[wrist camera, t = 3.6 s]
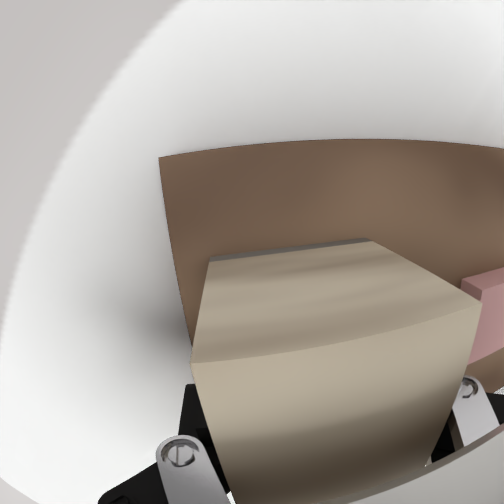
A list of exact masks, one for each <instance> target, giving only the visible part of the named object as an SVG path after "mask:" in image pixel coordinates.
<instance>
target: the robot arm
mask: <svg viewBox="0 0 504 504" xmlns="http://www.w3.org/2000/svg"><path fill="white" fill-rule="evenodd" d="M156 460H157V462H156V463H154V464H153V465H151V466H149V467H148V468H146V469H145V470H143V471H141V472H140V473H138V474H136V475H135V476H133V477H131V478H130V479H128V480H126V481H125V482H123V483H121V484H119V485H118V486H116V487H114V488H112V489H111V490H109V491H107V492H106V493H104V494H103V495H102V496H101V498H100V499H99V501H98V504H231V503H230V501H229V499H228V497H227V495H226V494H228V493H229V492H230V491H231V490H230V488H229V485H228V483H227V480H226V477H225V475H224V472H223V469H222V466H221V464H220V461H219V458H218V455H217V452H216V449H215V446H214V443H213V440H212V437H211V434H210V431H209V428H208V425H207V422H206V419H205V416H204V412H203V409H202V406H201V402H200V399H199V396H198V392H197V389H196V385H195V384H187V385H186V387H185V393H184V399H183V406H182V412H181V418H180V425H179V432H178V436H173V437H170V438H168V439H166V440H165V441H163V442H162V443H161V444H160V445H159V446H158V448H157V451H156ZM313 504H504V395H501V394H494V393H487V392H485V391H484V389H483V387H482V385H481V383H480V382H479V381H478V380H477V379H476V378H474V377H472V376H470V375H464V376H463V379H462V382H461V385H460V388H459V391H458V394H457V396H456V399H455V402H454V404H453V407H452V409H451V412H450V414H449V417H448V419H447V421H446V424H445V426H444V428H443V431H442V433H441V435H440V437H439V439H438V441H437V443H436V445H435V448H434V450H433V452H432V454H431V456H430V457H429V459H428V461H427V463H426V467H423V468H421V469H419V470H417V471H414V472H412V473H409V474H407V475H405V476H402V477H400V478H397V479H394V480H392V481H389V482H386V483H384V484H381V485H378V486H375V487H372V488H369V489H366V490H363V491H360V492H356V493H353V494H349V495H346V496H342V497H338V498H335V499H331V500H327V501H322V502H318V503H313Z"/></svg>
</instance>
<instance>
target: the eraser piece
mask: <svg viewBox="0 0 504 504" xmlns="http://www.w3.org/2000/svg"><path fill="white" fill-rule="evenodd" d="M460 290H462V291H463V292H465V293H467V294H468V295H470V296H472V297H473V298H475V299H477V300H478V301H480V302H482V308H481V313H480V317H479V322H478V326H477V331H476V335H475V339H474V343H473V346H472V350H471V353H470V357H469V360H468V364H467V365H469V364H471V363H473V362H475V361H477V360H480V359H482V358H484V357H486V356H488V355H490V354H492V353H494V352H495V351H497V350H499V349H501V348H503V347H504V267H503V268H499V269H496V270H492V271H489V272H485V273H482V274H478V275H474V276H471V277H467V278H463V279H462V281H461V288H460Z"/></svg>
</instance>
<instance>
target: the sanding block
mask: <svg viewBox="0 0 504 504" xmlns="http://www.w3.org/2000/svg"><path fill="white" fill-rule="evenodd" d="M481 308H482V302H480V301H478V300H477V299H475V298H473V297H472V296H470V295H468V294H467V293H465V292H463V291H462V290H460V289H458V288H457V287H455V286H453V285H452V284H450V283H448V282H446V281H445V280H443V279H441V278H439V277H438V276H436V275H434V274H432V273H431V272H429V271H427V270H425V269H424V268H422V267H420V266H418V265H416V264H415V263H413V262H411V261H409V260H407V259H405V258H404V257H402V256H400V255H398V254H396V253H394V252H392V251H391V250H389V249H387V248H385V247H383V246H381V245H379V244H377V243H375V242H373V241H371V240H369V239H368V238H366V237H365V238H357V239H349V240H341V241H333V242H325V243H317V244H309V245H301V246H293V247H285V248H277V249H269V250H261V251H253V252H245V253H237V254H229V255H221V256H213V257H210V260H209V265H208V270H207V275H206V279H205V284H204V289H203V294H202V299H201V305H200V310H199V315H198V320H197V326H196V331H195V336H194V342H193V347H192V353H191V359H190V367H191V371H192V374H193V378H194V382H195V385H196V389H197V392H198V396H199V399H200V402H201V406H202V409H203V412H204V416H205V419H206V422H207V425H208V428H209V431H210V434H211V437H212V440H213V443H214V446H215V449H216V452H217V455H218V458H219V461H220V464H221V466H222V469H223V472H224V475H225V477H226V480H227V483H228V485H229V488H230V490H231V493H232V496H233V498H234V501H235V503H236V504H313V503H318V502H322V501H327V500H331V499H335V498H338V497H342V496H346V495H349V494H353V493H356V492H360V491H363V490H366V489H369V488H372V487H375V486H378V485H381V484H384V483H386V482H389V481H392V480H394V479H397V478H400V477H402V476H405V475H407V474H409V473H412V472H414V471H417V470H419V469H421V468H423V467H425V465H426V463H427V461H428V459H429V457H430V456H431V454H432V452H433V450H434V448H435V445H436V443H437V441H438V439H439V437H440V435H441V433H442V431H443V428H444V426H445V424H446V421H447V419H448V417H449V414H450V412H451V409H452V407H453V404H454V402H455V399H456V396H457V394H458V391H459V388H460V385H461V382H462V379H463V376H464V373H465V370H466V367H467V364H468V360H469V357H470V353H471V350H472V346H473V343H474V339H475V335H476V331H477V326H478V322H479V317H480V313H481Z"/></svg>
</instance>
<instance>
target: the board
mask: <svg viewBox="0 0 504 504" xmlns="http://www.w3.org/2000/svg"><path fill="white" fill-rule="evenodd" d="M159 166H160V175H161V182H162V190H163V197H164V204H165V211H166V217H167V224H168V230H169V236H170V242H171V248H172V254H173V259H174V265H175V270H176V275H177V280H178V285H179V290H180V295H181V300H182V305H183V309H184V314H185V319H186V323H187V328H188V332H189V336H190V340H191V345H192V347H193V342H194V336H195V331H196V326H197V320H198V315H199V310H200V305H201V299H202V294H203V289H204V284H205V279H206V275H207V270H208V265H209V260H210V257H213V256H221V255H229V254H237V253H245V252H253V251H261V250H269V249H277V248H285V247H293V246H301V245H309V244H317V243H325V242H333V241H341V240H349V239H357V238H365V237H366V238H368V239H369V240H371V241H373V242H375V243H377V244H379V245H381V246H383V247H385V248H387V249H389V250H391V251H392V252H394V253H396V254H398V255H400V256H402V257H404V258H405V259H407V260H409V261H411V262H413V263H415V264H416V265H418V266H420V267H422V268H424V269H425V270H427V271H429V272H431V273H432V274H434V275H436V276H438V277H439V278H441V279H443V280H445V281H446V282H448V283H450V284H452V285H453V286H455V287H457V288H458V289H460V288H461V281H462V279H463V278H467V277H471V276H474V275H478V274H482V273H485V272H489V271H492V270H496V269H499V268H503V267H504V149H501V148H494V147H487V146H479V145H470V144H460V143H449V142H437V141H421V140H398V139H331V140H307V141H290V142H276V143H264V144H253V145H244V146H234V147H226V148H218V149H210V150H203V151H196V152H190V153H183V154H177V155H171V156H165V157H160V158H159ZM464 375H470V376H472V377H474V378H476V379H477V380H478V381H479V382H480V383H481V385H482V387H483V389H484V391H485V392H487V393H494V392H495V391H497V390H499V389H500V388H502V387H503V386H504V347H503V348H501V349H499V350H497V351H495V352H494V353H492V354H490V355H488V356H486V357H484V358H482V359H480V360H477V361H475V362H473V363H471V364H469V365H467V367H466V370H465V373H464Z"/></svg>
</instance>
